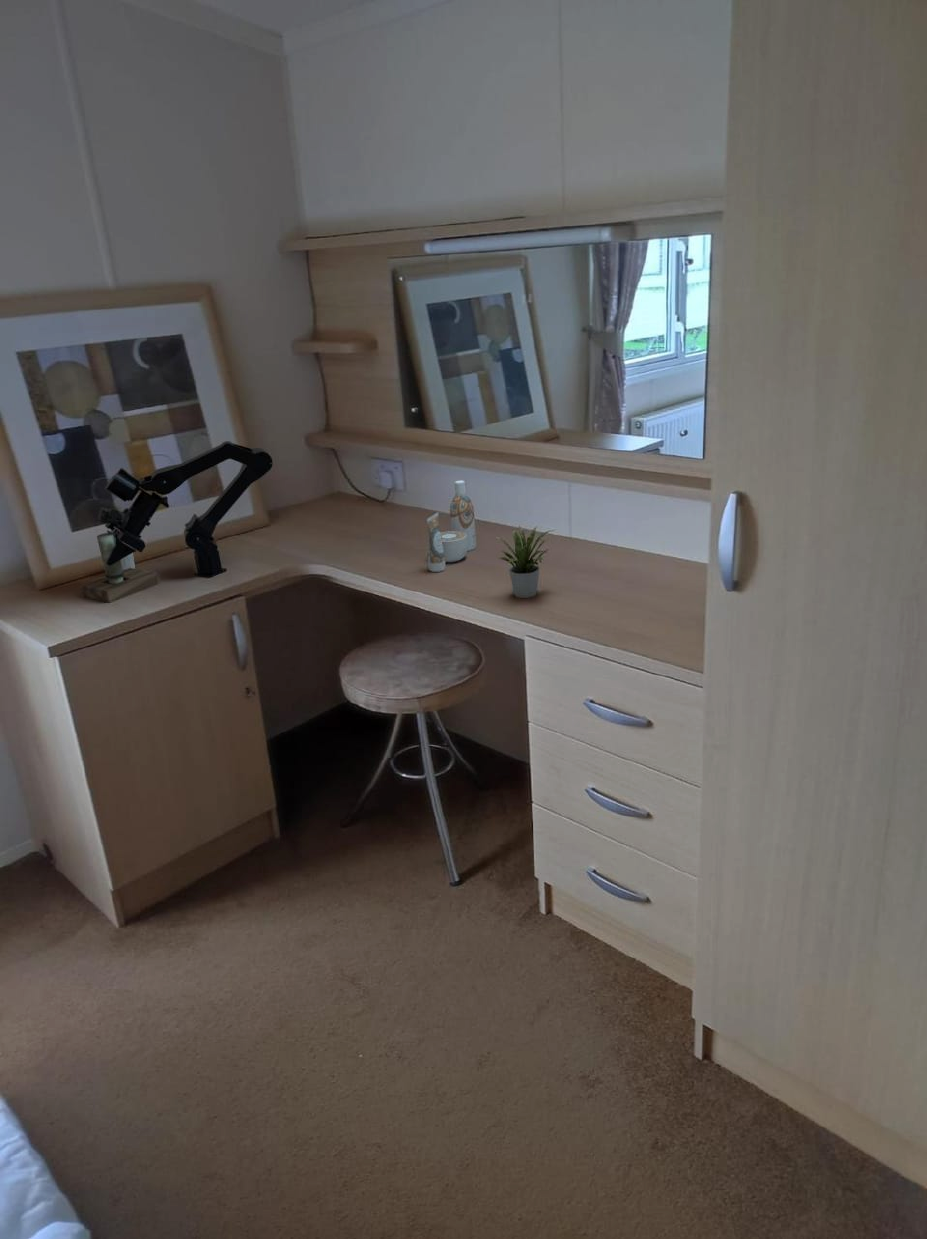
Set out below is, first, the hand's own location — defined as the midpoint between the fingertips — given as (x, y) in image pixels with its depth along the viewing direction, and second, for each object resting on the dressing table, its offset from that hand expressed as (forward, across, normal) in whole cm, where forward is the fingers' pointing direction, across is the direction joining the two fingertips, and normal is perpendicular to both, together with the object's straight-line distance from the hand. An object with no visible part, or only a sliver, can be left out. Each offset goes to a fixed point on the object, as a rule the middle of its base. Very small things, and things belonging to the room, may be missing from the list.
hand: (106, 562), depth 226 cm
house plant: (-50, +75, +62) cm, 109 cm away
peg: (+4, 0, +6) cm, 7 cm away
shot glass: (+1, -17, +10) cm, 20 cm away
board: (+4, 0, +7) cm, 8 cm away
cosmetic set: (-50, +38, +62) cm, 89 cm away
